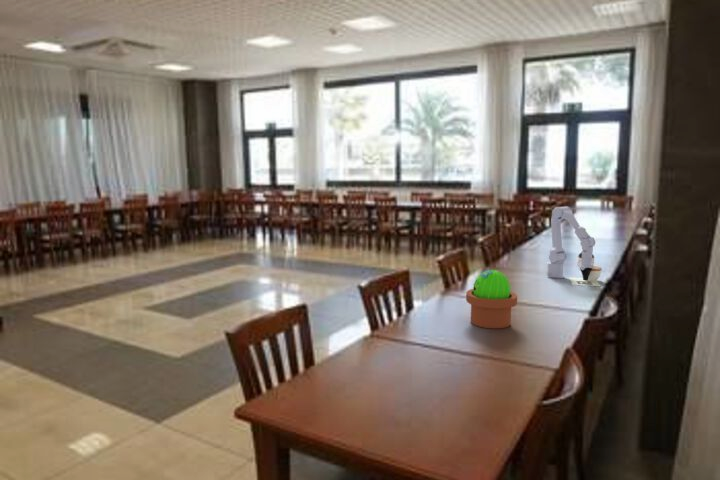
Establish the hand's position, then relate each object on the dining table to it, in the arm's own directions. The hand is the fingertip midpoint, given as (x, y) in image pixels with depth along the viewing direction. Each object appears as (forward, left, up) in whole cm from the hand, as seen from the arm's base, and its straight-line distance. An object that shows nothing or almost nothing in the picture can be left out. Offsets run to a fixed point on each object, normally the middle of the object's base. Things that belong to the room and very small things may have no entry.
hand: (585, 280), depth 315 cm
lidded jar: (+5, +8, -2) cm, 9 cm away
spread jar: (+7, +48, -2) cm, 49 cm away
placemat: (0, +2, -2) cm, 3 cm away
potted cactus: (-55, -93, -2) cm, 108 cm away
